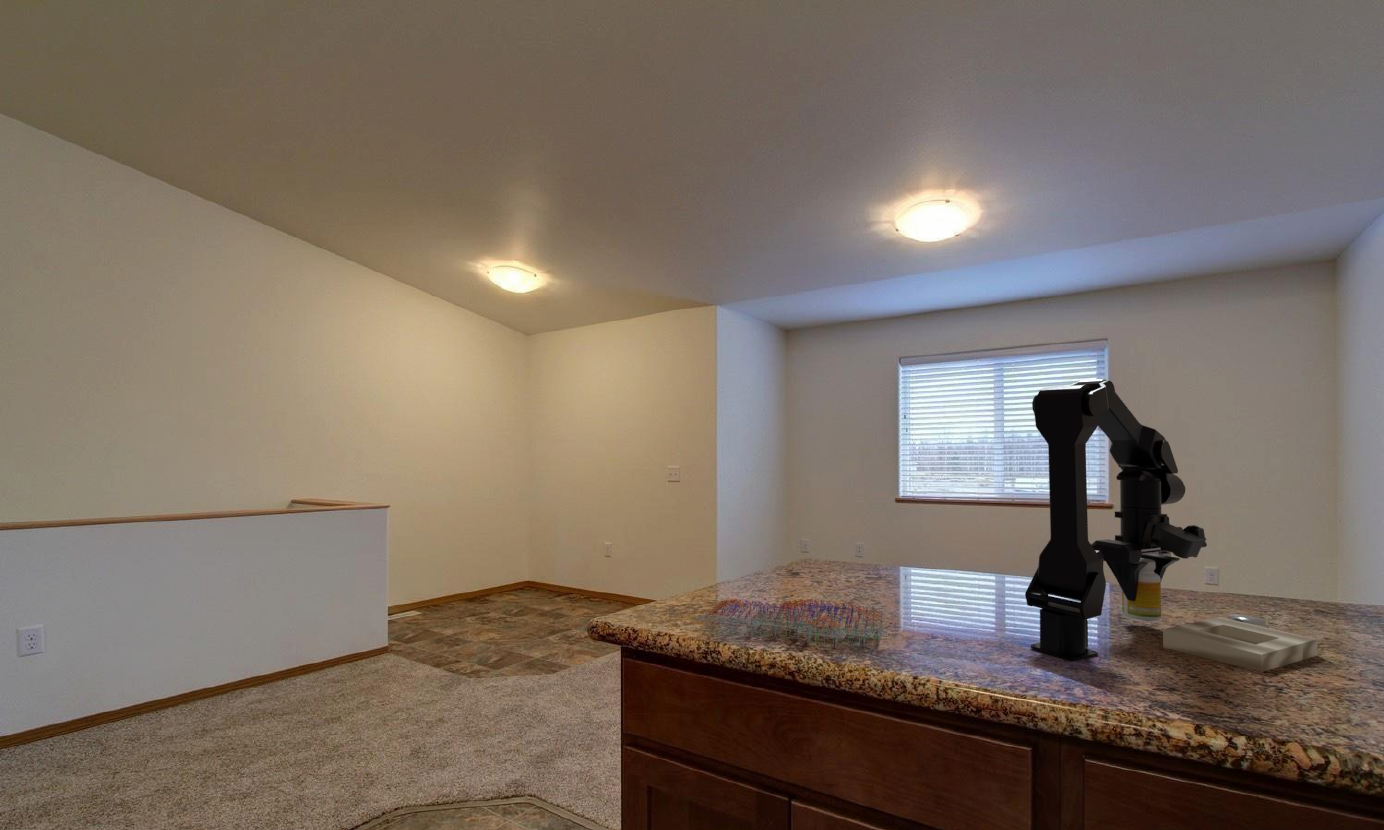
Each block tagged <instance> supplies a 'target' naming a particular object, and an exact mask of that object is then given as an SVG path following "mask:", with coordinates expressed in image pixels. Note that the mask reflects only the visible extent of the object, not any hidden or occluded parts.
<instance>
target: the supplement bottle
mask: <svg viewBox="0 0 1384 830" xmlns="http://www.w3.org/2000/svg"><path fill="white" fill-rule="evenodd" d="M1141 562H1147V563H1148V564H1147V565H1146V566H1145V567H1143V568H1142V569H1141V570H1140V571H1139V578H1138V587H1137V595H1136V600H1135V601H1130V600H1127V598H1126V596H1125V594H1124V592H1123V591H1122V590H1121V607H1122V608H1121V610H1122V614H1123V615H1124V616H1126V617H1128V618H1131V619H1136V620H1139V621H1140V620H1141V621H1146V622H1147V621H1148V622H1149V621H1150V622H1157V621H1160V620H1161V619H1162V599H1161V598H1162V590H1161V587H1162V585H1161V584H1162V583H1161V582H1162V580H1161V579H1160V576H1159V575H1158V574H1156V573H1154V570H1155V561H1154V560H1151V559H1145V558H1141Z"/></svg>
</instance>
